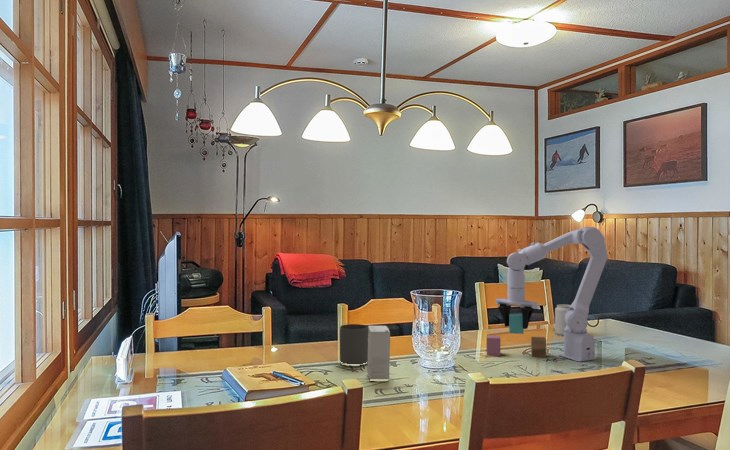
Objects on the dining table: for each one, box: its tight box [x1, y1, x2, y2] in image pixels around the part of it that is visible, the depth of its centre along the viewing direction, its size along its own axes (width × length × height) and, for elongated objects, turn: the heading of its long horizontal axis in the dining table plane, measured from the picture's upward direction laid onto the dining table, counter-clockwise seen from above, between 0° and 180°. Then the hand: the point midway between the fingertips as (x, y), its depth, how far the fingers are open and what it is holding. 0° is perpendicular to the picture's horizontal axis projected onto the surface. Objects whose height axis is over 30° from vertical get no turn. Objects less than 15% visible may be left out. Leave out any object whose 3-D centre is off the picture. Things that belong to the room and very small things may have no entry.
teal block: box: [508, 313, 524, 335], centre depth 192 cm, size 4×4×6 cm
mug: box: [339, 323, 368, 364], centre depth 183 cm, size 14×9×12 cm
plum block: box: [486, 334, 501, 357], centre depth 193 cm, size 4×4×6 cm
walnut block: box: [530, 336, 547, 359], centre depth 191 cm, size 4×4×6 cm
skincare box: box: [366, 325, 391, 380], centre depth 164 cm, size 8×6×15 cm
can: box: [554, 303, 571, 337], centre depth 226 cm, size 8×8×12 cm
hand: (516, 327), depth 192 cm, fingers closed on teal block, 6 cm apart
